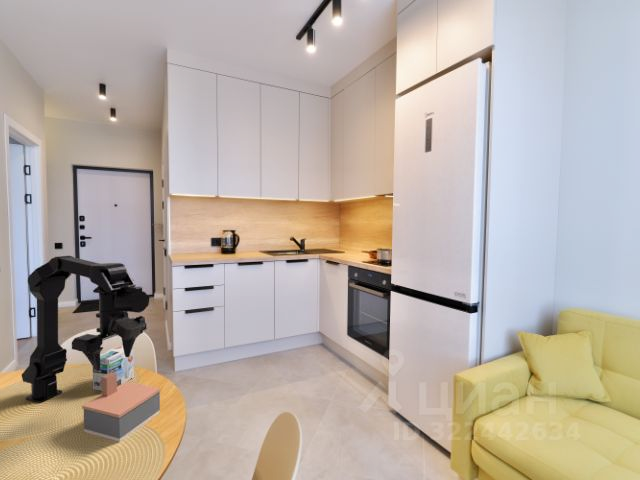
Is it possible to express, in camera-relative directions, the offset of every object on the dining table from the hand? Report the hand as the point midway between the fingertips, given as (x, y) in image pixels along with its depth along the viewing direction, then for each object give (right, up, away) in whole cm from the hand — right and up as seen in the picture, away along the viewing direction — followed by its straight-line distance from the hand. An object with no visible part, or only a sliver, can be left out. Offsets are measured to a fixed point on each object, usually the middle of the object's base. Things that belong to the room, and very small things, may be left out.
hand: (113, 363), depth 91 cm
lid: (+5, -9, -3) cm, 10 cm away
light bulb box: (-11, -14, +18) cm, 25 cm away
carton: (+5, -15, -3) cm, 16 cm away
